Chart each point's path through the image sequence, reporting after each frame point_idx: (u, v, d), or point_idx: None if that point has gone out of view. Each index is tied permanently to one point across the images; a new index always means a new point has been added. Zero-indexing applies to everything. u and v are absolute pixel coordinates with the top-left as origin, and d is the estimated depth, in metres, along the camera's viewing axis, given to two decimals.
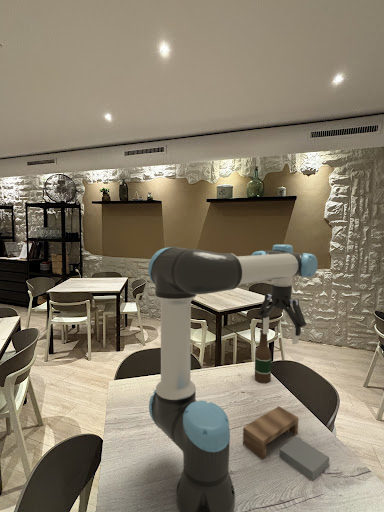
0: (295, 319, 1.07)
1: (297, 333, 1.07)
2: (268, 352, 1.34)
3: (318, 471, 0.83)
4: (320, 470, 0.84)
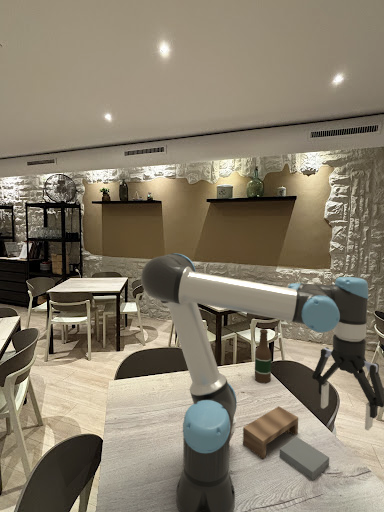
0: (370, 393, 0.72)
1: (373, 414, 0.72)
2: (268, 352, 1.34)
3: (318, 471, 0.83)
4: (320, 470, 0.83)
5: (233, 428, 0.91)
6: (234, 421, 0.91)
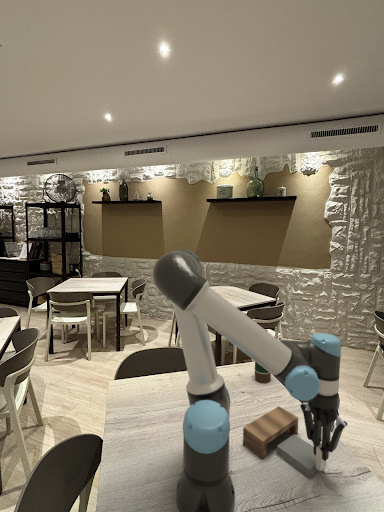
0: (327, 441, 0.82)
1: (324, 457, 0.82)
2: None
3: (314, 468, 0.84)
4: None
5: None
6: None
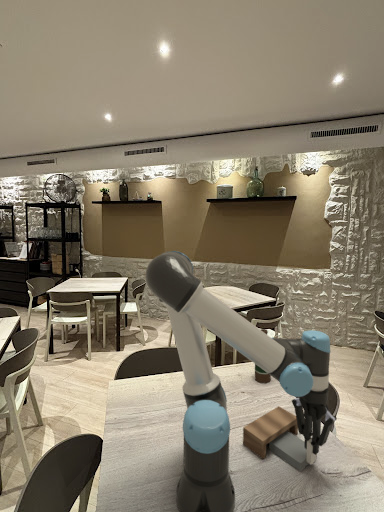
0: (317, 435, 0.84)
1: (315, 451, 0.84)
2: None
3: (306, 462, 0.86)
4: None
5: None
6: None
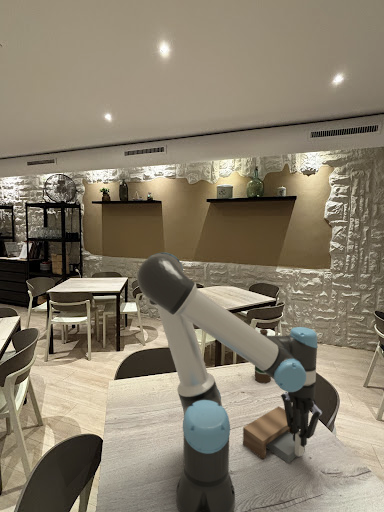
0: (305, 428, 0.87)
1: (302, 443, 0.87)
2: None
3: (294, 455, 0.89)
4: None
5: None
6: None
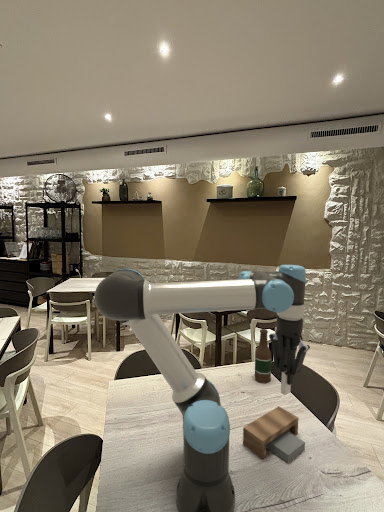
0: (291, 365, 0.86)
1: (289, 381, 0.86)
2: (268, 352, 1.34)
3: (293, 454, 0.89)
4: (296, 454, 0.90)
5: None
6: None
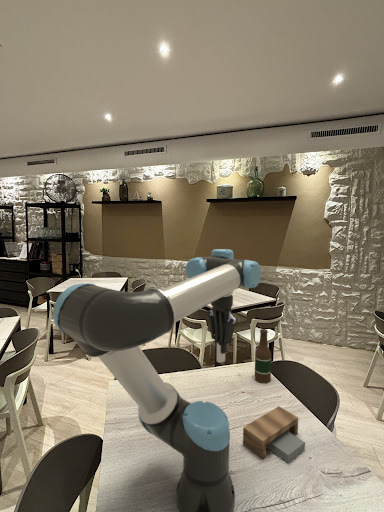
0: (224, 336, 0.98)
1: (222, 351, 0.99)
2: (268, 352, 1.34)
3: (293, 454, 0.89)
4: (295, 454, 0.90)
5: None
6: None
